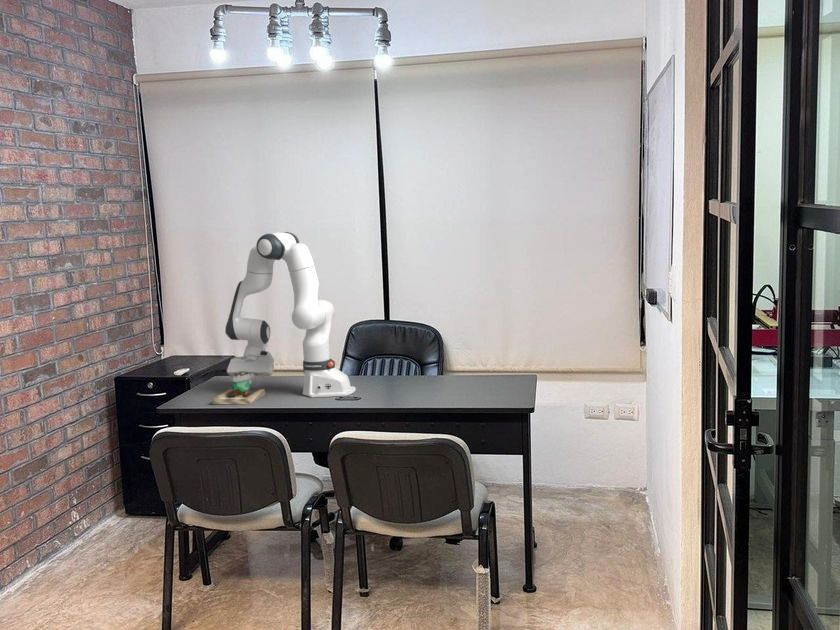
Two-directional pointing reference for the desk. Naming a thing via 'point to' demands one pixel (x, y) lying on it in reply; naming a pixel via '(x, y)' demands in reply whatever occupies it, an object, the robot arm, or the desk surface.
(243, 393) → the food container
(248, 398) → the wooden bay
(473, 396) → the desk surface
